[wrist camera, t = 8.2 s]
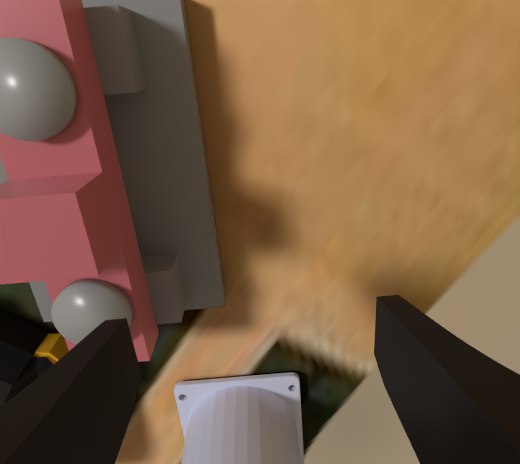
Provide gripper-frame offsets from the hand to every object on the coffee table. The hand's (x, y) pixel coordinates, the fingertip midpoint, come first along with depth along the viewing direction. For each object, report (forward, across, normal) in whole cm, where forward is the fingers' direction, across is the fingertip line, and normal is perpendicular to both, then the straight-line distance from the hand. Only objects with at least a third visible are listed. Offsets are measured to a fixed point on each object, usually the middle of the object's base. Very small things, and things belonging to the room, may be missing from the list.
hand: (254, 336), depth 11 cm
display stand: (+10, +7, -2) cm, 13 cm away
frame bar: (+7, +7, -2) cm, 10 cm away
